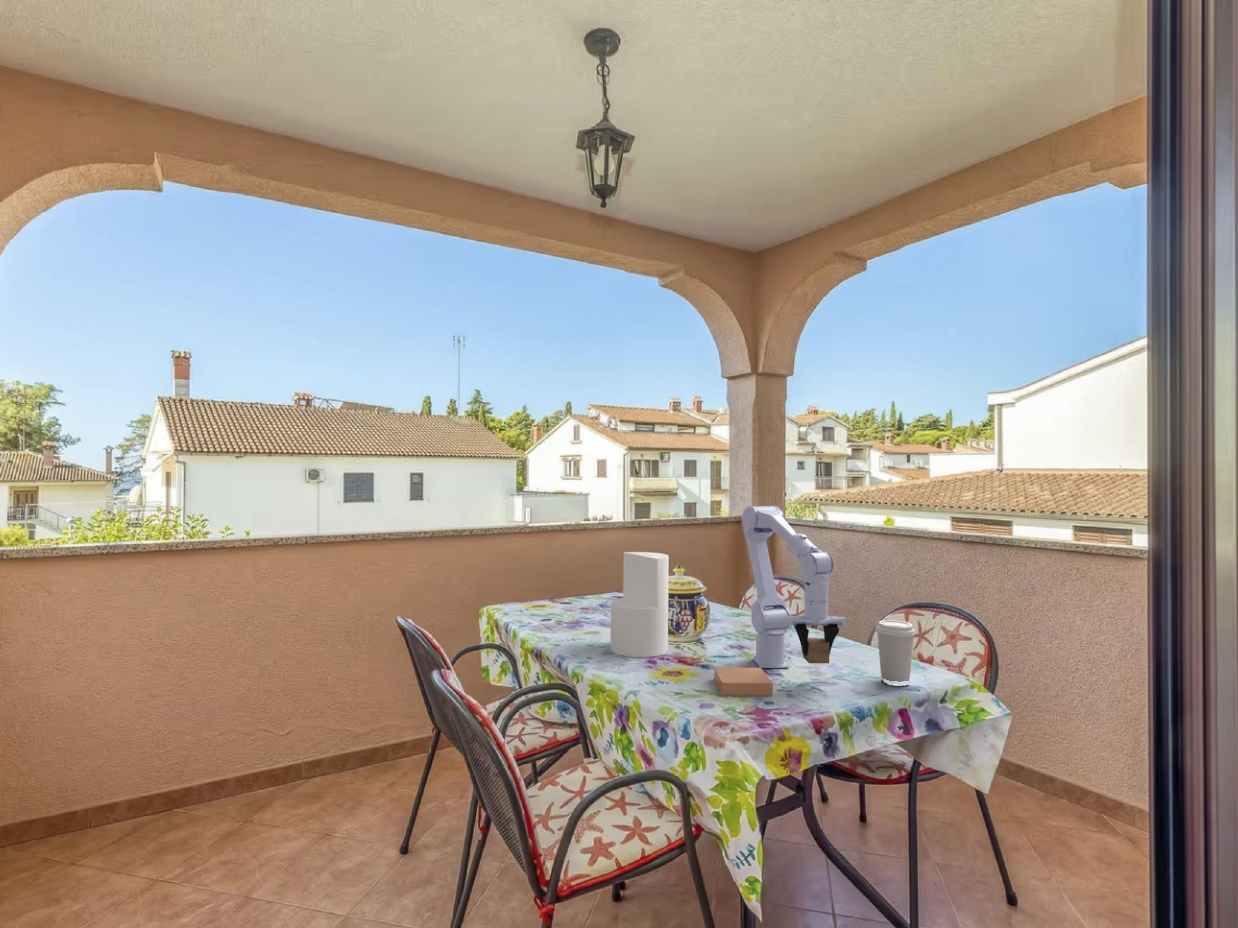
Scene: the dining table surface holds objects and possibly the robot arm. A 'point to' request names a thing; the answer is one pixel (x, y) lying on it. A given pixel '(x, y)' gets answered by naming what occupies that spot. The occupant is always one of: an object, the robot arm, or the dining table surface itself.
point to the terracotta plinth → (743, 682)
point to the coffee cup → (895, 649)
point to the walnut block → (817, 651)
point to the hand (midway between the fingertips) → (815, 653)
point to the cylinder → (641, 607)
